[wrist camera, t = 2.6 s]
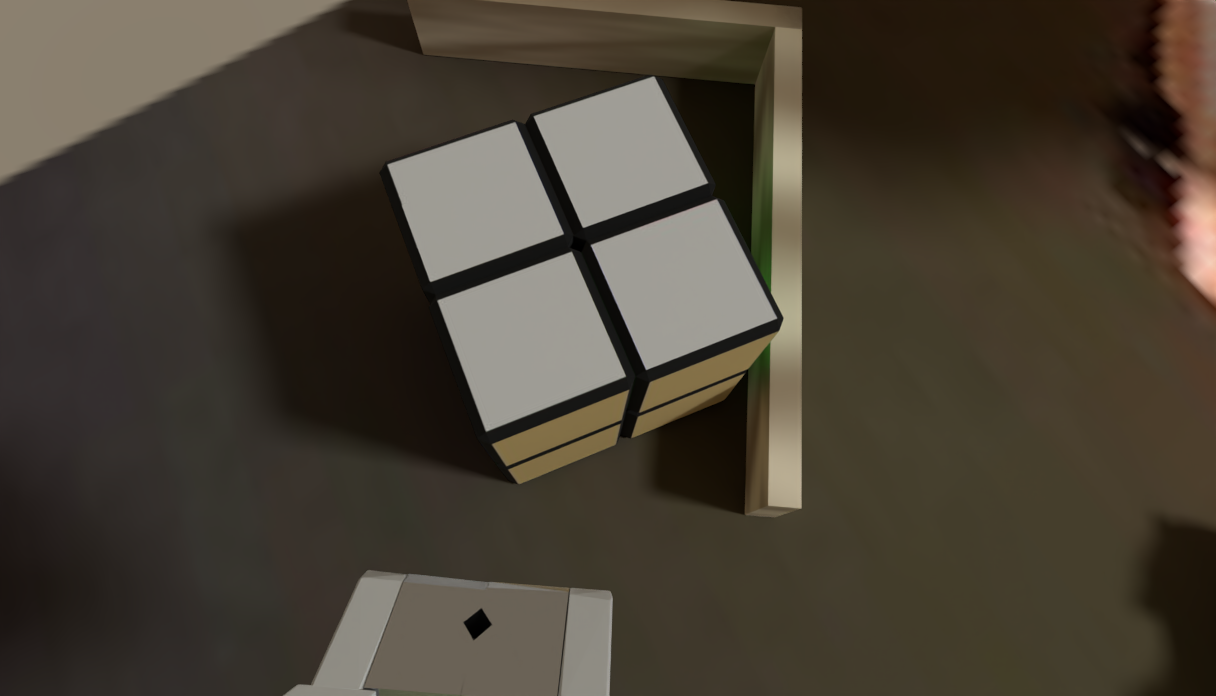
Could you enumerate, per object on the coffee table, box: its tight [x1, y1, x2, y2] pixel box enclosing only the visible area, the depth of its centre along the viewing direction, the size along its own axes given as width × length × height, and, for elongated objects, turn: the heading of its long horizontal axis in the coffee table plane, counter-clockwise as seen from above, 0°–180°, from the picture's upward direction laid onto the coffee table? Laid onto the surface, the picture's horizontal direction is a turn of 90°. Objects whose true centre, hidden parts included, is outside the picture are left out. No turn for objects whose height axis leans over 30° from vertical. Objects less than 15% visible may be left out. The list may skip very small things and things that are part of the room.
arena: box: [407, 0, 802, 517], centre depth 32 cm, size 22×18×4 cm
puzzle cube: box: [380, 75, 784, 485], centre depth 28 cm, size 10×10×10 cm
